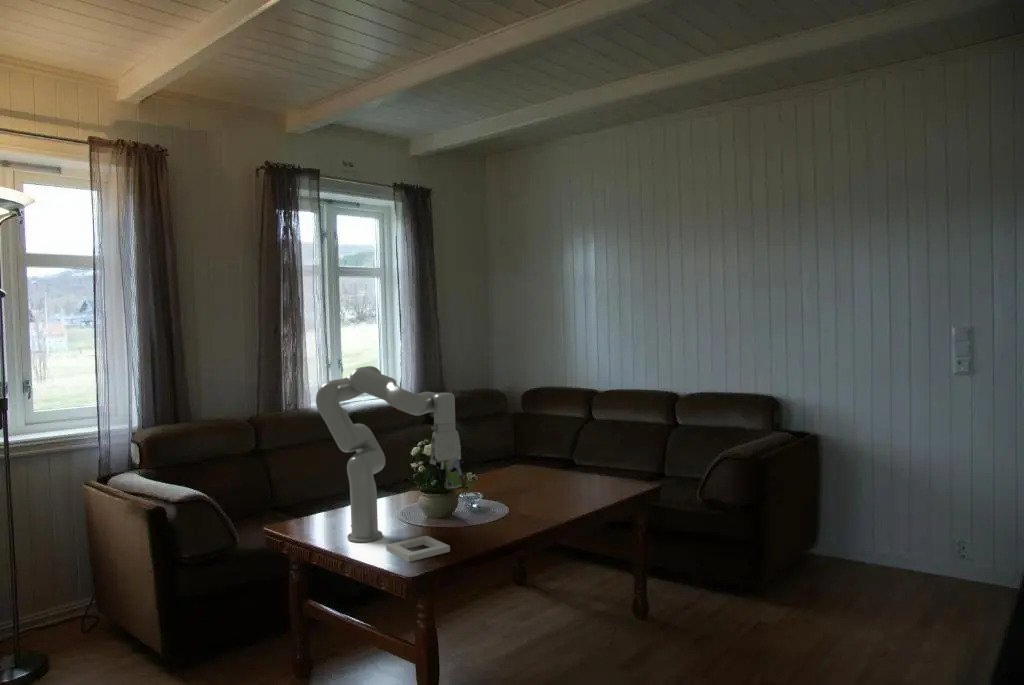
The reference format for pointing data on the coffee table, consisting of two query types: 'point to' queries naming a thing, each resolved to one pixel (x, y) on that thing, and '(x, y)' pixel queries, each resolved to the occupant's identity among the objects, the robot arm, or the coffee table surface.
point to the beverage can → (453, 473)
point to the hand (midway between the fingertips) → (446, 478)
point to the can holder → (402, 552)
